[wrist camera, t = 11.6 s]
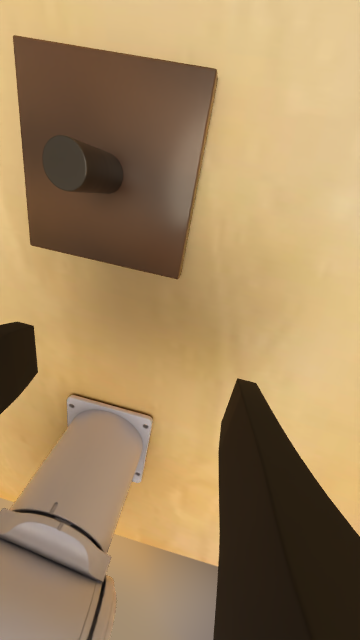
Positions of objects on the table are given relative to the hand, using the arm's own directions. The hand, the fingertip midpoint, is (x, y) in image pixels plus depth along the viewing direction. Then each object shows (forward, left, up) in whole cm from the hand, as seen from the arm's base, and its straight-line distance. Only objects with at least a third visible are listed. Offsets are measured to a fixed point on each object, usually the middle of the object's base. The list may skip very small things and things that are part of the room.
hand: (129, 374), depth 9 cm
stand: (+6, +5, -9) cm, 12 cm away
